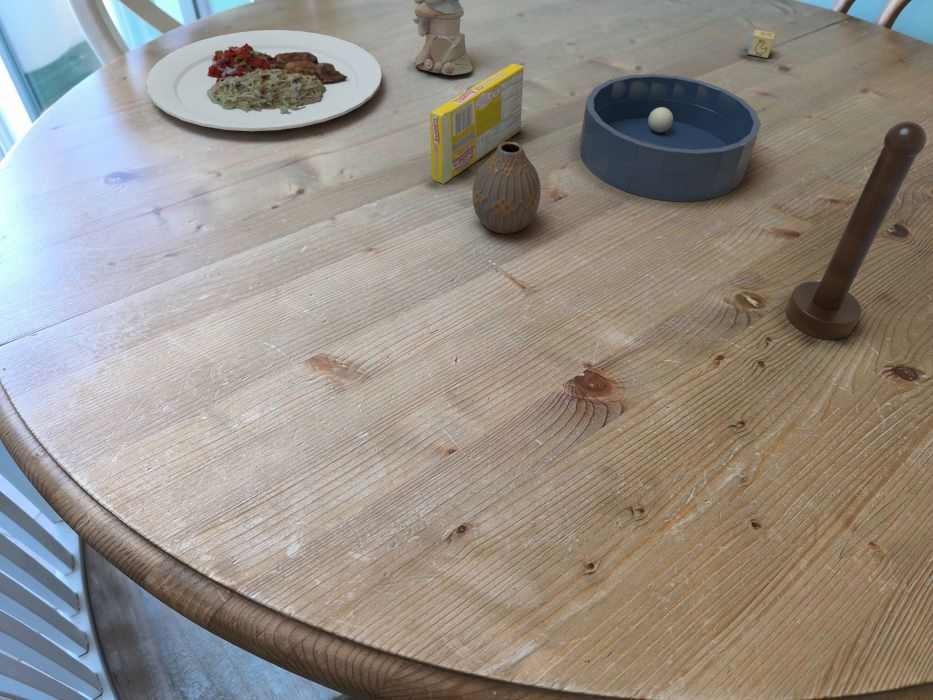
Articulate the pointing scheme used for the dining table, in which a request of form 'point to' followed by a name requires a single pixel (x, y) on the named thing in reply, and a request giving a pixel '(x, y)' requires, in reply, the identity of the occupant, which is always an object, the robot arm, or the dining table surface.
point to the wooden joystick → (856, 242)
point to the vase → (506, 190)
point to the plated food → (264, 80)
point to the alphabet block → (761, 43)
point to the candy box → (475, 122)
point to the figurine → (441, 37)
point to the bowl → (668, 137)
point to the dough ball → (660, 119)
